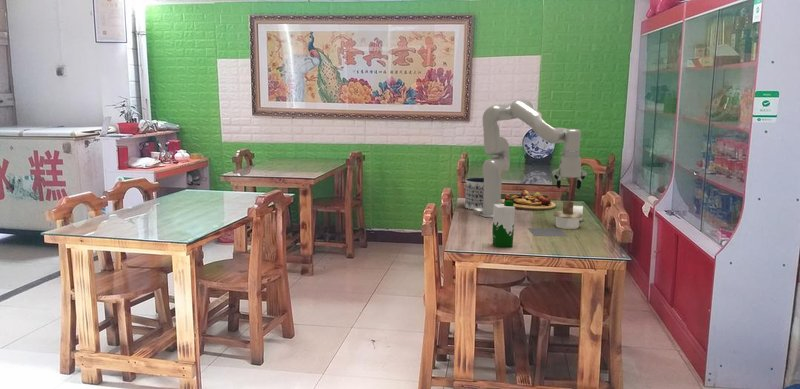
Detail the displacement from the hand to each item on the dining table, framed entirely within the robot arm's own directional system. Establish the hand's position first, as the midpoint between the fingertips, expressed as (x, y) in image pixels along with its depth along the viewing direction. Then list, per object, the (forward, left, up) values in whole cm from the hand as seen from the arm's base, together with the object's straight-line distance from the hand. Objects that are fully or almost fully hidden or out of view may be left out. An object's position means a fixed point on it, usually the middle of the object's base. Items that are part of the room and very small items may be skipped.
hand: (568, 188), depth 314 cm
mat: (-13, -13, -20) cm, 27 cm away
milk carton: (-39, -38, -20) cm, 58 cm away
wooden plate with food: (-7, +58, -21) cm, 62 cm away
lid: (0, 0, -14) cm, 14 cm away
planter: (-37, +49, -20) cm, 64 cm away
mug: (+8, +19, -20) cm, 29 cm away
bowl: (0, 0, -20) cm, 20 cm away
